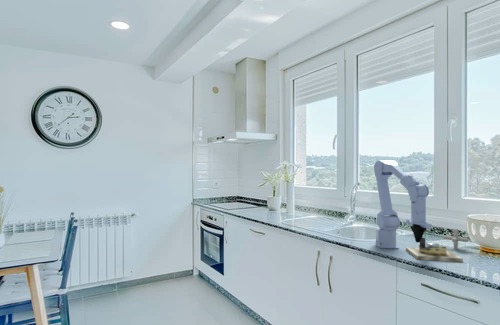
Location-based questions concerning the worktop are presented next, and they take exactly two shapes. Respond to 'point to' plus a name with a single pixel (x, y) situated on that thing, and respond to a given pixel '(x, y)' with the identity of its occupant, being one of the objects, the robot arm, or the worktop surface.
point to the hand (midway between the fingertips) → (418, 242)
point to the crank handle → (431, 248)
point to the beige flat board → (433, 256)
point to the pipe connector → (456, 238)
